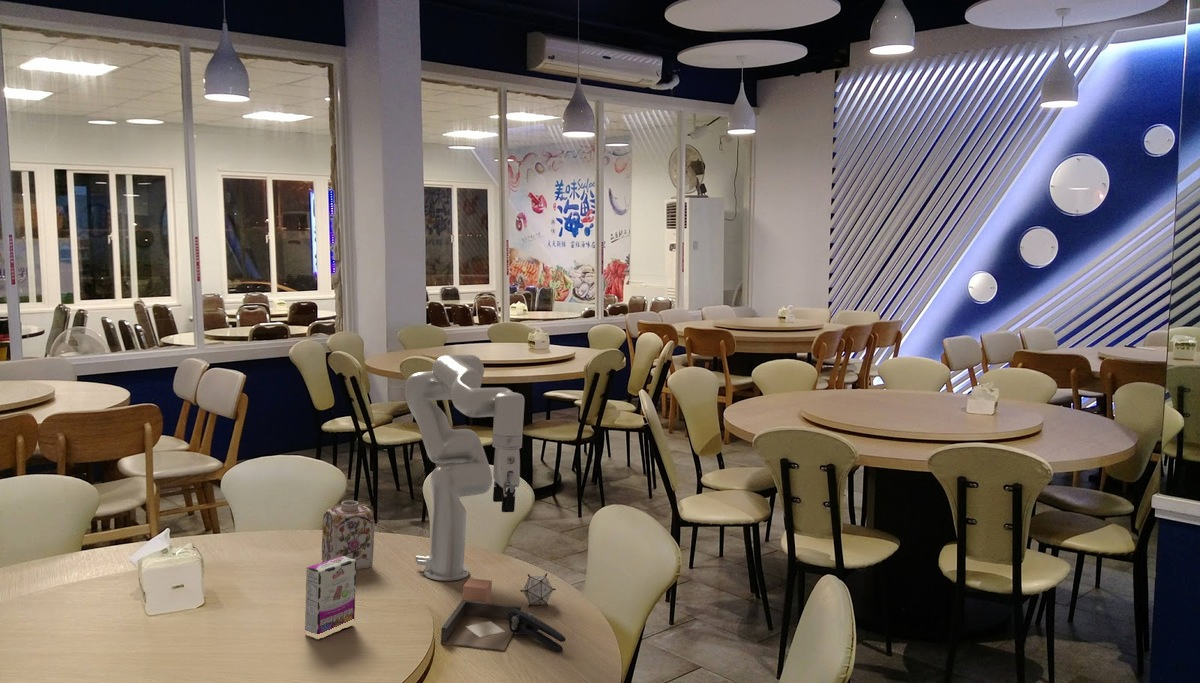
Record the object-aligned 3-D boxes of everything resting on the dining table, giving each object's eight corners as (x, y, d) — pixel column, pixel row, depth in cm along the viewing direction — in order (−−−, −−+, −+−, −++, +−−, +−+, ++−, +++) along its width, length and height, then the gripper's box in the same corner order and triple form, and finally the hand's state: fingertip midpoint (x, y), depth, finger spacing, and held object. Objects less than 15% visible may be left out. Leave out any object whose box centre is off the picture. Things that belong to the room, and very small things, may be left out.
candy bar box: (340, 620, 215) (343, 554, 214) (354, 626, 213) (358, 559, 211) (302, 635, 206) (305, 566, 205) (317, 641, 203) (320, 571, 202)
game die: (540, 621, 233) (548, 600, 227) (512, 605, 234) (519, 584, 228) (555, 595, 240) (563, 574, 233) (527, 580, 241) (535, 559, 235)
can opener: (499, 630, 215) (501, 608, 215) (520, 623, 220) (523, 601, 220) (551, 657, 203) (554, 633, 203) (572, 649, 209) (575, 626, 208)
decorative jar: (360, 555, 263) (363, 495, 261) (373, 568, 253) (376, 506, 251) (319, 560, 256) (322, 499, 255) (331, 573, 246) (334, 509, 245)
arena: (440, 643, 206) (441, 627, 206) (461, 614, 224) (462, 599, 224) (504, 651, 205) (505, 635, 204) (520, 621, 223) (521, 606, 222)
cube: (462, 608, 228) (463, 586, 228) (468, 600, 234) (469, 578, 234) (484, 611, 228) (486, 588, 227) (490, 602, 234) (491, 580, 233)
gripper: (530, 448, 220) (526, 515, 222) (513, 434, 236) (509, 497, 238) (500, 448, 218) (496, 516, 219) (485, 434, 234) (481, 498, 235)
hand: (503, 506), depth 228 cm, fingers open, 9 cm apart
